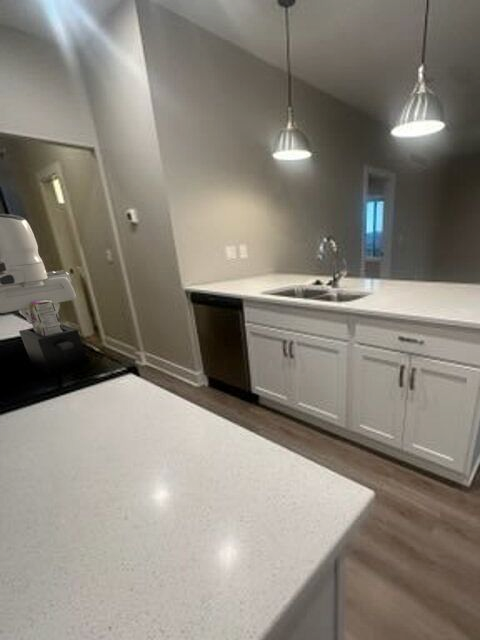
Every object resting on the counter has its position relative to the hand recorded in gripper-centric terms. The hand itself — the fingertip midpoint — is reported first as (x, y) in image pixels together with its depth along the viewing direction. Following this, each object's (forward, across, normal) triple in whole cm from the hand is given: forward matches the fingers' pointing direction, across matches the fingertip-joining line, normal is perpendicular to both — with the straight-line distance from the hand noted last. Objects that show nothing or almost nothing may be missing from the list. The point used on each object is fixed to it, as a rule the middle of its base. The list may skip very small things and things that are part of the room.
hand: (44, 320), depth 104 cm
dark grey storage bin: (+14, 0, 0) cm, 14 cm away
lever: (+7, 0, +11) cm, 13 cm away
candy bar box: (+10, 0, 0) cm, 10 cm away
